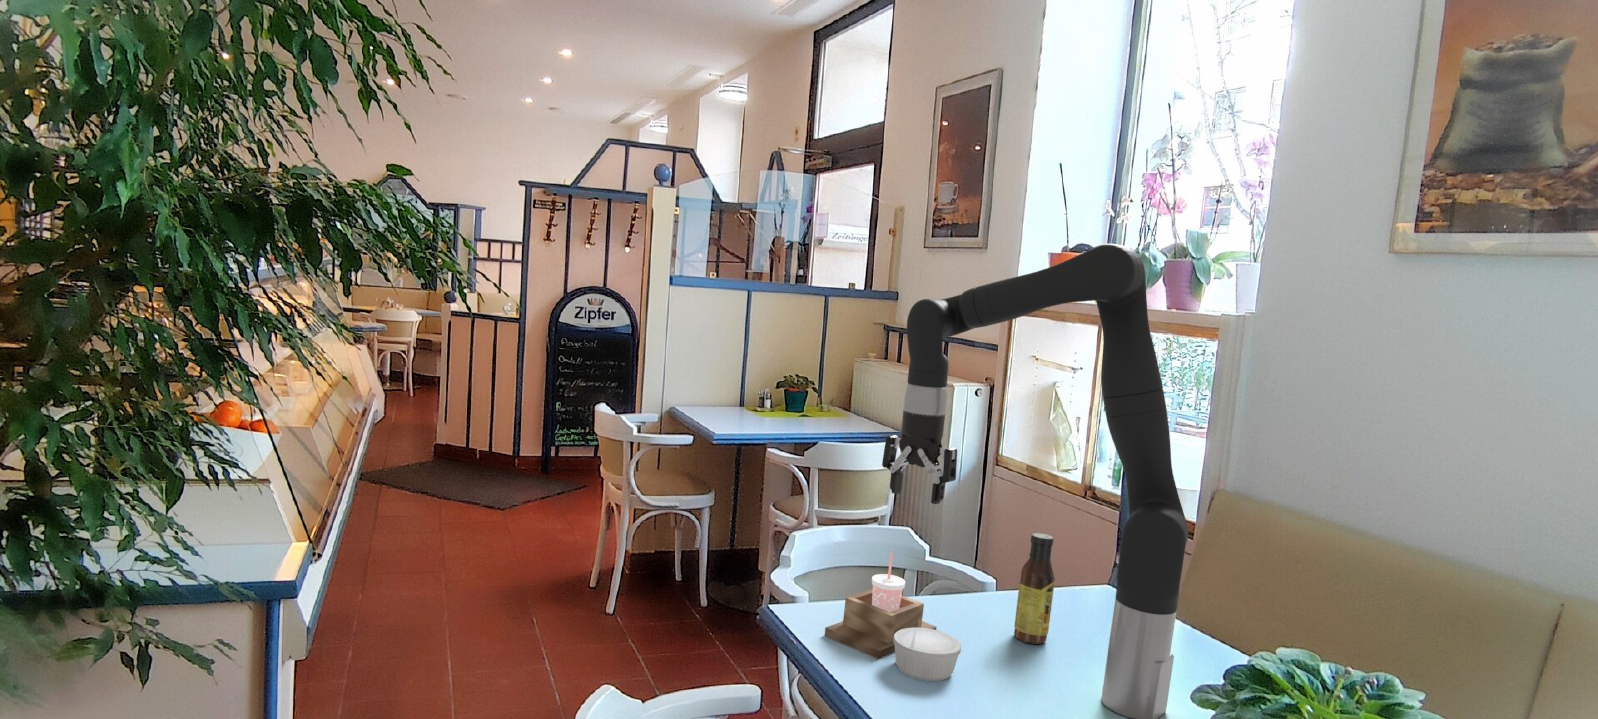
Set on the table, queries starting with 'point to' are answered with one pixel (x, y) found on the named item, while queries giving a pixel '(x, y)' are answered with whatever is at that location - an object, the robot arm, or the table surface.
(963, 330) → the robot arm
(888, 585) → the beverage cup
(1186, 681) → the table surface
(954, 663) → the ramekin
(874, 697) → the table surface
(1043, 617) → the sauce bottle
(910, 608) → the cup holder
